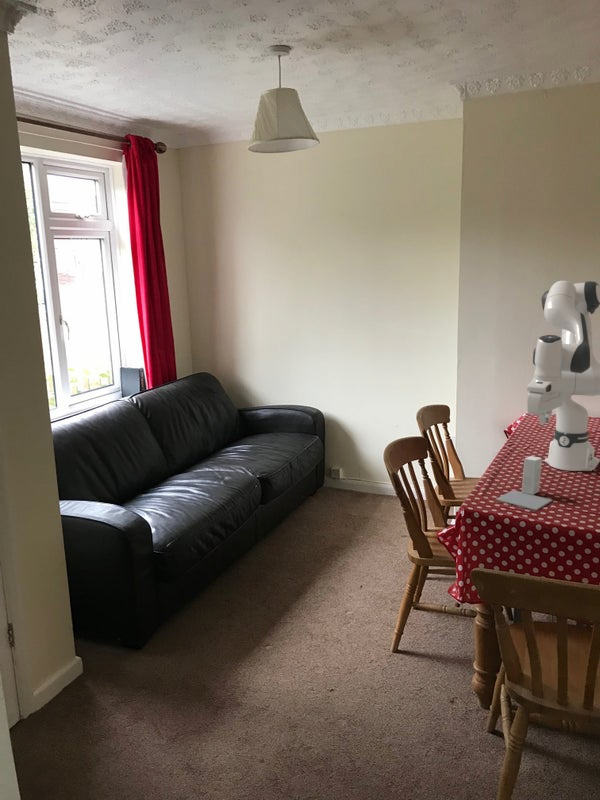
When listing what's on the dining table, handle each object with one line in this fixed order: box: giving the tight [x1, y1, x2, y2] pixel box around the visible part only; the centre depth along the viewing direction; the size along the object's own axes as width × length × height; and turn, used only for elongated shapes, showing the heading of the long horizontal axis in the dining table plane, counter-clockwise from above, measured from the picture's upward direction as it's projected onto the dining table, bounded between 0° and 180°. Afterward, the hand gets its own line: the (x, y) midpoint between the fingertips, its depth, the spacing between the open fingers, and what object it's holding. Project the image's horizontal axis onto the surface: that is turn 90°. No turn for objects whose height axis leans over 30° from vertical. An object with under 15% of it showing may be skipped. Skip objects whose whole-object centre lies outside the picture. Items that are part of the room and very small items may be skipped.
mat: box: [495, 489, 553, 512], centre depth 221 cm, size 12×14×1 cm
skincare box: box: [521, 455, 543, 495], centre depth 227 cm, size 6×4×12 cm
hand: (544, 423), depth 229 cm, fingers closed
